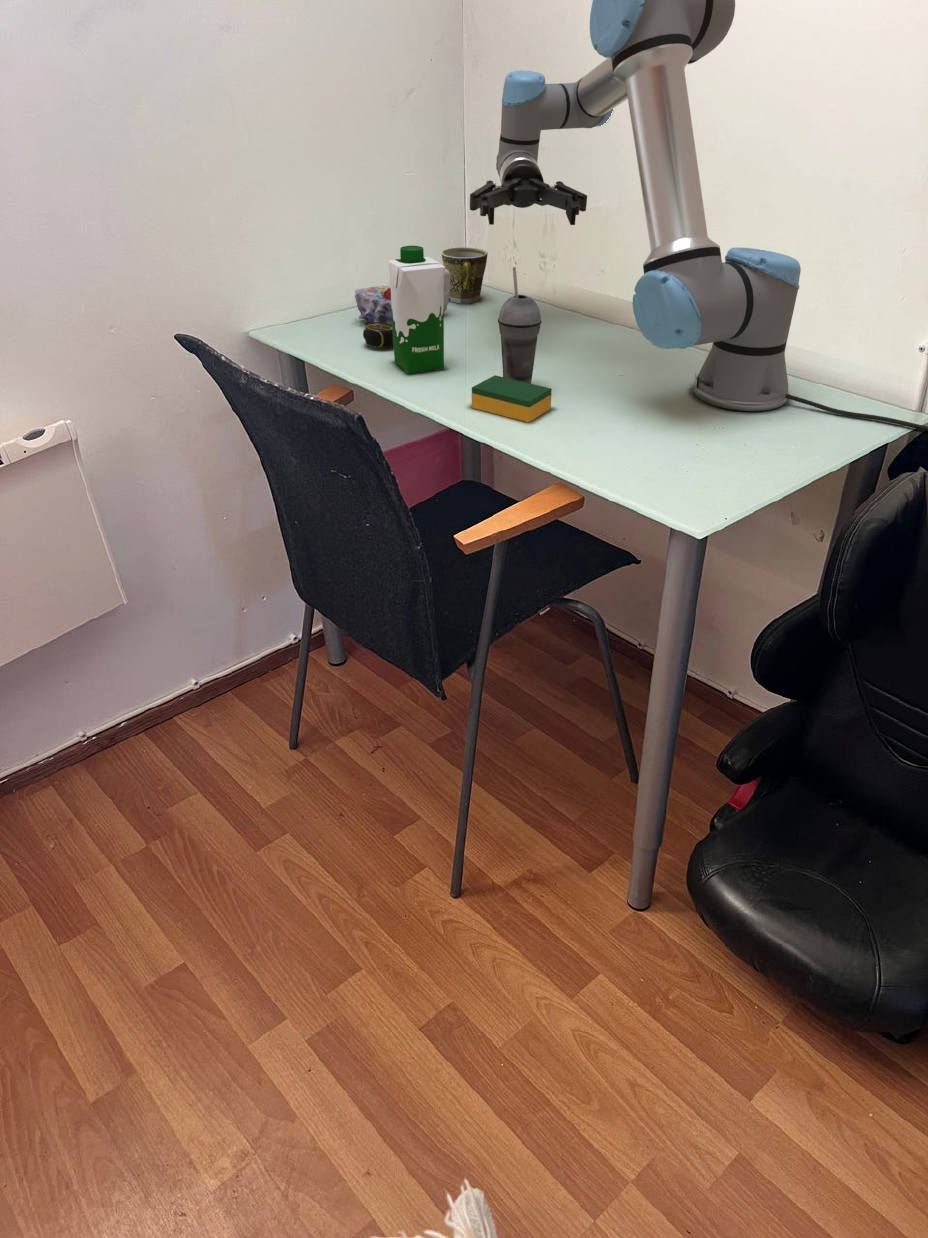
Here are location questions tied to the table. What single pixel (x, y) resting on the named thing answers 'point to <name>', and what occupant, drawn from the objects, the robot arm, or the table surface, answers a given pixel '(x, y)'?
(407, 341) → the milk carton
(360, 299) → the cell model
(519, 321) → the beverage cup
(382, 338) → the tape measure
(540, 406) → the sponge
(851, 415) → the robot arm
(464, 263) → the ceramic cup
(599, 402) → the table surface
